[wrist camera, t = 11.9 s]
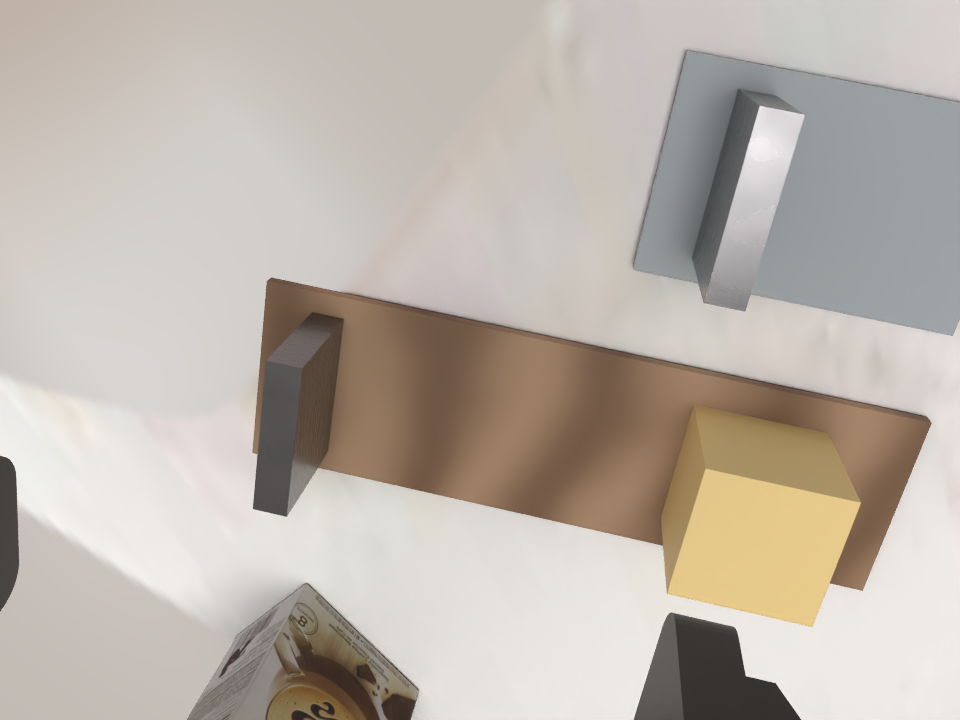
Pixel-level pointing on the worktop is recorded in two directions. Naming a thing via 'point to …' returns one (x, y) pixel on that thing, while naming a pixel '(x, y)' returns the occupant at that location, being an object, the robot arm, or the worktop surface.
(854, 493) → the ochre cube
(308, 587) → the coffee box
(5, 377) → the worktop surface
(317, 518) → the worktop surface
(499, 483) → the walnut strip
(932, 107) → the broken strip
